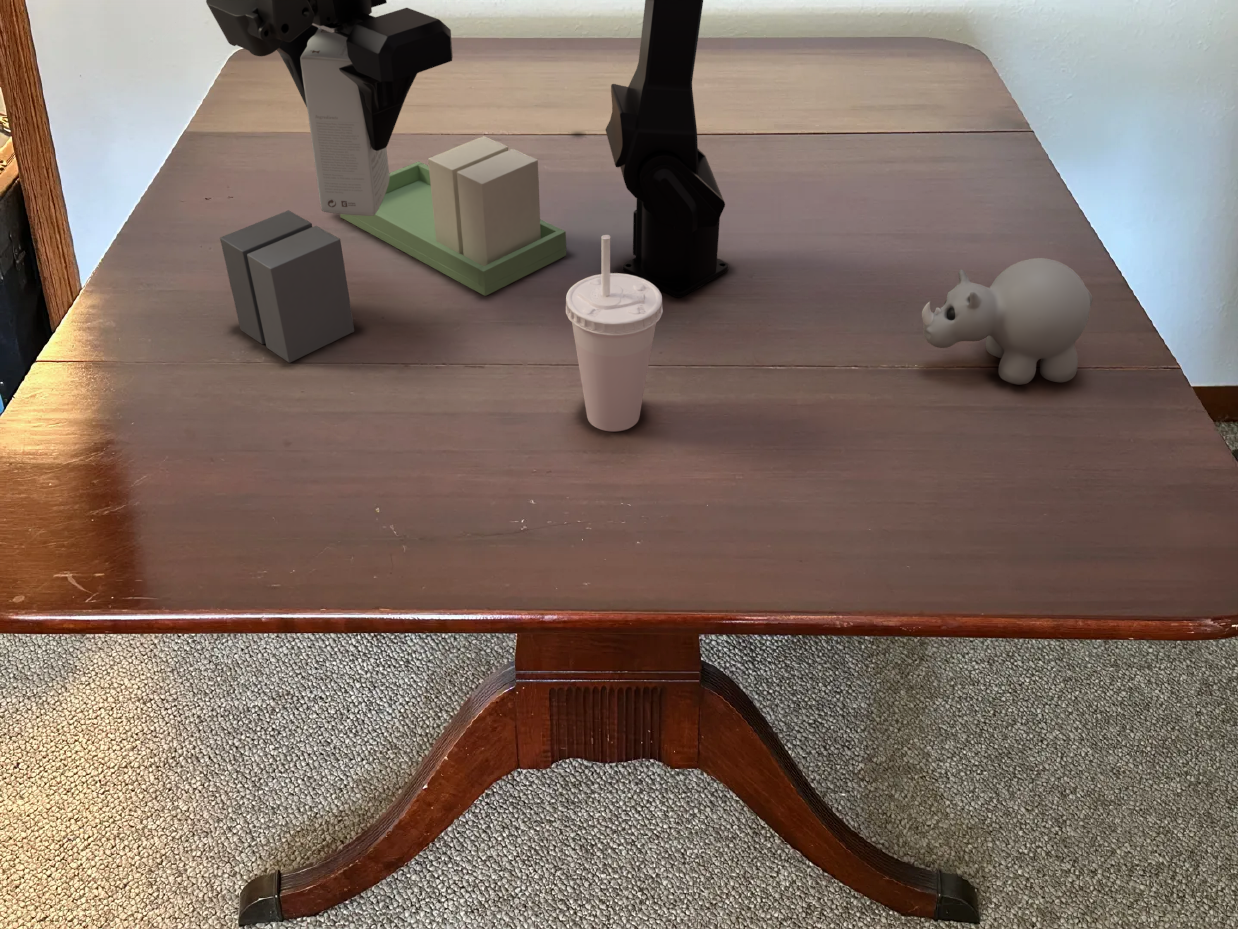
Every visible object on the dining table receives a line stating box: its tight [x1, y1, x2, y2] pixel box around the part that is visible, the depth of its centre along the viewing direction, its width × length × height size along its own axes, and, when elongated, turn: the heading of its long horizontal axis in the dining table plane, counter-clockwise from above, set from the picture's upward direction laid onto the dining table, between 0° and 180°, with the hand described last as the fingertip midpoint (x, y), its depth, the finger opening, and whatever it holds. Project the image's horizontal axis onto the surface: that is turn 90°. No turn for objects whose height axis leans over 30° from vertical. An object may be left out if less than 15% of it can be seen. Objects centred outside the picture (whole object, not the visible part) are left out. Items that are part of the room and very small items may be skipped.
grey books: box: [219, 209, 355, 364], centre depth 91 cm, size 6×6×8 cm
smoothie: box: [565, 234, 664, 432], centre depth 81 cm, size 6×6×14 cm
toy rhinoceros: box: [921, 257, 1093, 385], centre depth 87 cm, size 7×12×8 cm, turn 92°
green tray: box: [339, 160, 567, 297], centre depth 104 cm, size 19×9×2 cm, turn 47°
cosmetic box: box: [300, 28, 390, 216], centre depth 89 cm, size 6×4×12 cm
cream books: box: [427, 135, 541, 266], centre depth 99 cm, size 6×6×8 cm
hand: (349, 134), depth 90 cm, fingers closed on cosmetic box, 7 cm apart
